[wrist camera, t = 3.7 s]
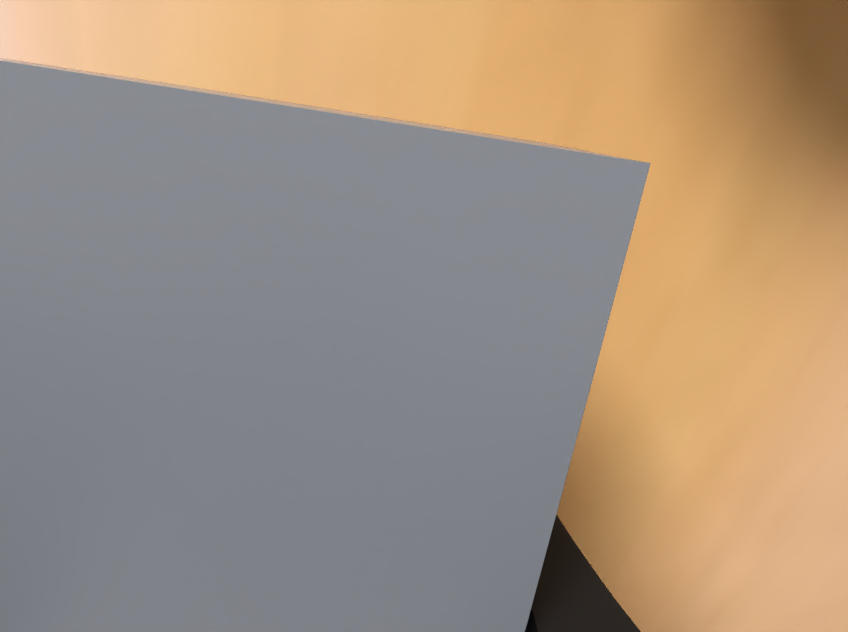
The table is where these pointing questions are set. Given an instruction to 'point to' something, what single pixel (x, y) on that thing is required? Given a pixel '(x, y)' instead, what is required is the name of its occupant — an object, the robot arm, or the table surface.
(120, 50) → the table surface
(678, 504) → the table surface
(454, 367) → the grey block
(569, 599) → the robot arm
